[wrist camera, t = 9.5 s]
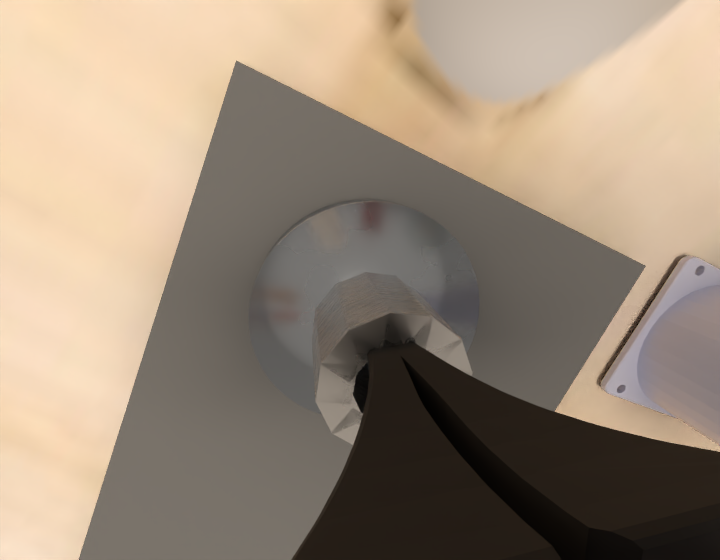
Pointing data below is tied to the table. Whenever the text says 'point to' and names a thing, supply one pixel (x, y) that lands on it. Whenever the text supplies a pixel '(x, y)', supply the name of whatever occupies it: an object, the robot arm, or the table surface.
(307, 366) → the hub
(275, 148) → the mat
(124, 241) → the table surface
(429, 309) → the ridged pipe fitting
